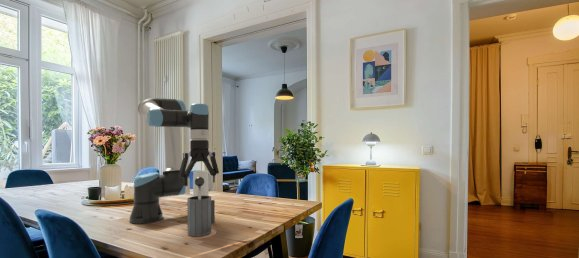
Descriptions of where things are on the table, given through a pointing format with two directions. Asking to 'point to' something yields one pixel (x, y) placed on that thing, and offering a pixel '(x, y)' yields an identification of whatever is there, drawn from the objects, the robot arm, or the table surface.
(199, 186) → the plunger
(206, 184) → the white slotted column
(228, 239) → the table surface
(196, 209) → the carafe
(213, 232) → the trivet
